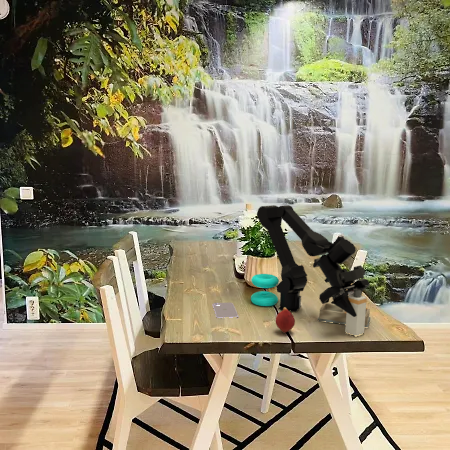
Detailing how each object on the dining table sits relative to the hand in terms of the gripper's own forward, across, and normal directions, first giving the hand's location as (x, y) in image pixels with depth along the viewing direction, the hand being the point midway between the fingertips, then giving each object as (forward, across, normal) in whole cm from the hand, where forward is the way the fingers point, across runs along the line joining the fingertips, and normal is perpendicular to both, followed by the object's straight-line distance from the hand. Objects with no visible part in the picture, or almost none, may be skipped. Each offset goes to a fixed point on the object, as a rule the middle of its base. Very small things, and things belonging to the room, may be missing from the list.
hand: (359, 314), depth 138 cm
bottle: (+4, 0, +6) cm, 7 cm away
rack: (-3, +7, +12) cm, 14 cm away
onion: (-6, -17, +15) cm, 23 cm away
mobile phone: (-24, -20, +34) cm, 46 cm away
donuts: (-23, -3, +32) cm, 40 cm away
